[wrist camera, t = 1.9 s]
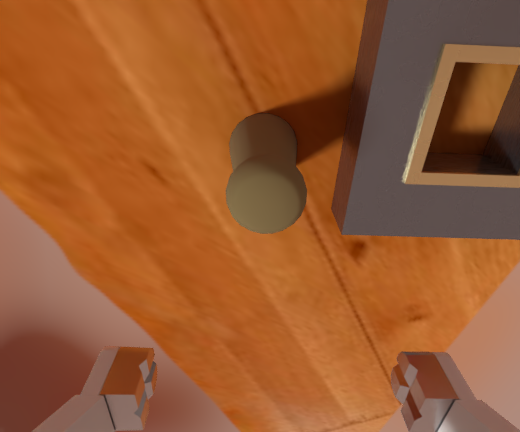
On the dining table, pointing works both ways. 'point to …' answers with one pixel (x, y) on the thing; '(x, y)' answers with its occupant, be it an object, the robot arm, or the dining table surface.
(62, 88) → the dining table surface
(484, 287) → the dining table surface
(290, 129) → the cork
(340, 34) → the dining table surface
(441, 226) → the block
